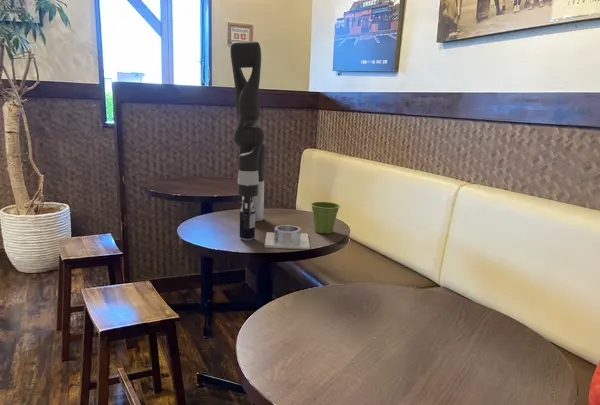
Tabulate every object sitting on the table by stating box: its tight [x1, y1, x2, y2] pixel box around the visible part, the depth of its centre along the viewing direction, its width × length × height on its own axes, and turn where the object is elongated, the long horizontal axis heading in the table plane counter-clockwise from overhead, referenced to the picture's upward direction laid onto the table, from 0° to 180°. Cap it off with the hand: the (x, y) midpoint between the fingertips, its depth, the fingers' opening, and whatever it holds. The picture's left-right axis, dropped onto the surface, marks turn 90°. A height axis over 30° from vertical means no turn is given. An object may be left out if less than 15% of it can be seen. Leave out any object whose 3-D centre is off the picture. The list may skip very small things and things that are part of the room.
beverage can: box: [239, 206, 256, 241], centre depth 169 cm, size 6×6×12 cm
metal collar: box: [264, 224, 311, 250], centre depth 168 cm, size 16×16×5 cm
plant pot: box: [310, 201, 341, 235], centre depth 183 cm, size 12×12×11 cm
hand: (247, 226), depth 169 cm, fingers open, 6 cm apart
